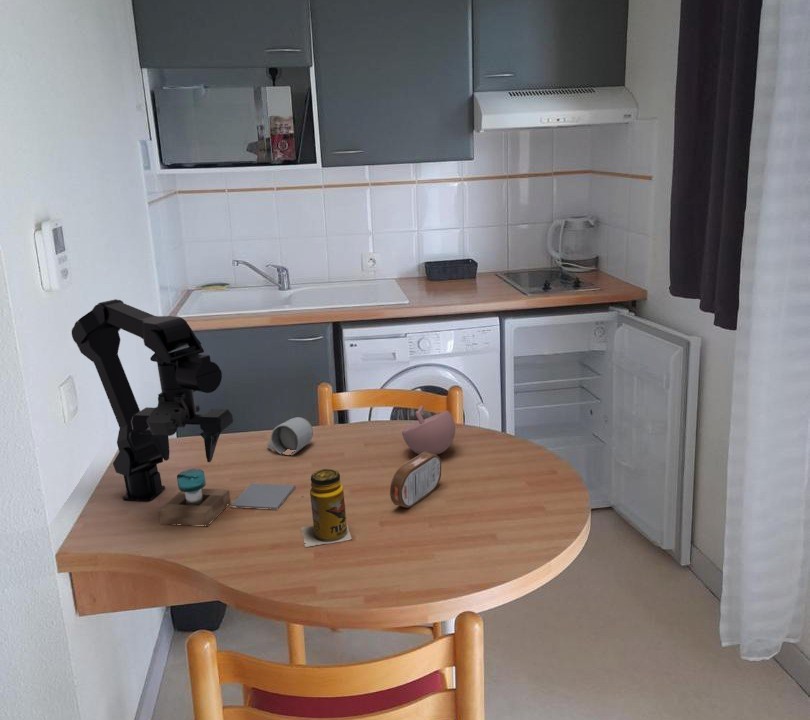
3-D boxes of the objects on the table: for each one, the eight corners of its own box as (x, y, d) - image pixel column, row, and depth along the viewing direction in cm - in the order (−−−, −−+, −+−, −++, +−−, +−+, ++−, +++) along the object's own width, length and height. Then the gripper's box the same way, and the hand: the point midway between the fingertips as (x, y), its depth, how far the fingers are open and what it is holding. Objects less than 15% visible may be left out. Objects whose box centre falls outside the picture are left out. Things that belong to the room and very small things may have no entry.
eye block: (160, 524, 145) (158, 510, 144) (186, 500, 155) (184, 487, 154) (207, 527, 143) (205, 512, 142) (230, 503, 152) (228, 489, 151)
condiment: (352, 540, 135) (346, 479, 131) (305, 548, 133) (298, 486, 130) (346, 521, 142) (340, 463, 138) (301, 529, 140) (294, 470, 137)
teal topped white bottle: (178, 519, 147) (171, 479, 145) (191, 506, 152) (185, 468, 150) (202, 520, 146) (196, 480, 143) (214, 508, 151) (208, 469, 148)
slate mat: (230, 507, 150) (230, 505, 150) (251, 486, 160) (251, 483, 159) (277, 510, 148) (276, 507, 148) (295, 488, 157) (295, 485, 157)
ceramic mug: (316, 444, 180) (313, 414, 178) (300, 457, 173) (296, 426, 171) (278, 441, 184) (274, 412, 182) (261, 454, 177) (256, 423, 175)
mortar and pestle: (423, 440, 178) (420, 395, 175) (466, 449, 171) (464, 402, 168) (393, 458, 169) (389, 410, 166) (437, 468, 162) (434, 419, 159)
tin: (432, 482, 156) (430, 444, 153) (445, 485, 154) (443, 447, 152) (390, 512, 144) (386, 472, 142) (403, 516, 142) (400, 475, 140)
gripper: (108, 398, 136) (122, 476, 140) (201, 399, 132) (212, 480, 136) (141, 379, 146) (153, 452, 151) (229, 380, 142) (239, 456, 147)
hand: (188, 460), depth 146 cm, fingers open, 9 cm apart
